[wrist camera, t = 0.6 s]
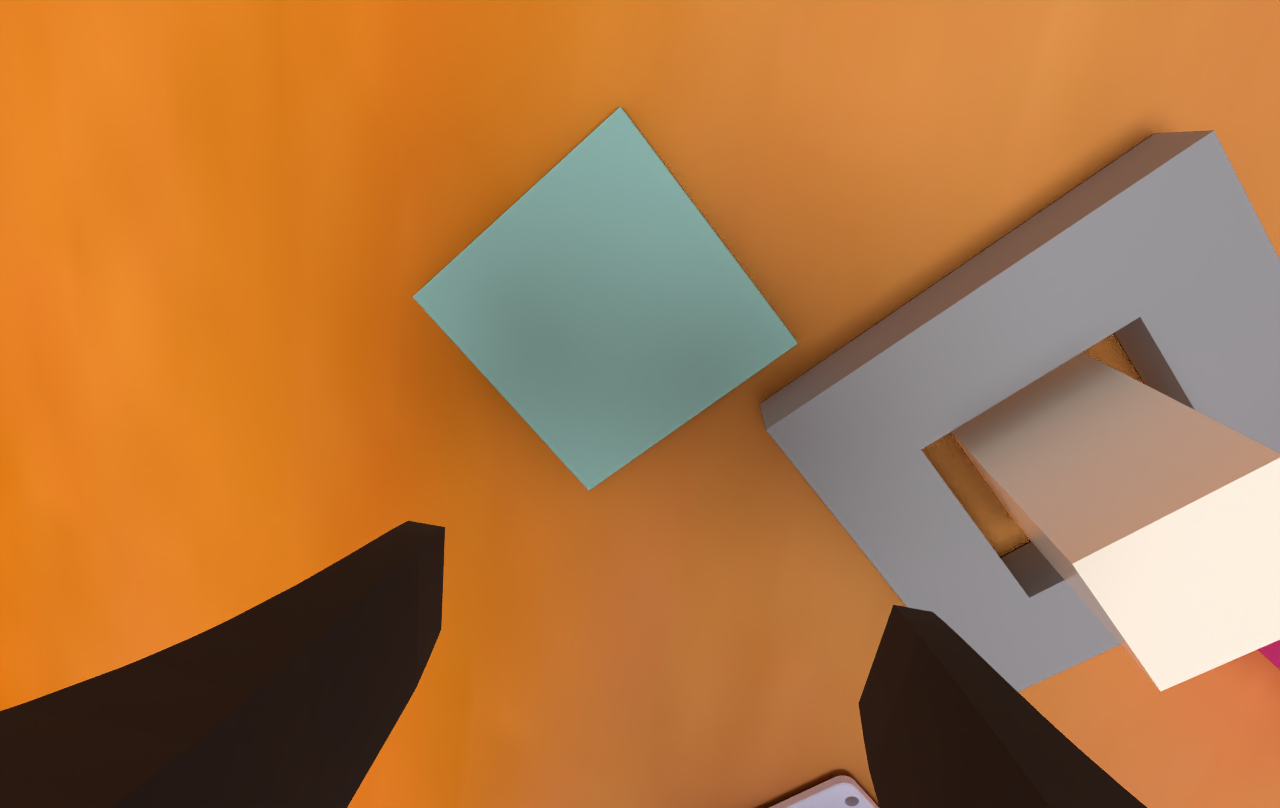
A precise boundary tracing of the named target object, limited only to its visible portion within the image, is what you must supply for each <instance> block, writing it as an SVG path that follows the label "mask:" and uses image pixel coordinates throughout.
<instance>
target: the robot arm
mask: <svg viewBox="0 0 1280 808" xmlns="http://www.w3.org/2000/svg"><path fill="white" fill-rule="evenodd" d="M444 540H445V527H441V526H435V525H429V524H423V523H417V522H412V521H407V522H405V523H403V524H401V525H399V526H398V527H396V528H394V529H392V530H390V531H389V532H387V533H385V534H384V535H382V536H380V537H378V538H377V539H375V540H373V541H372V542H370V543H368V544H367V545H365V546H363V547H362V548H360V549H358V550H357V551H355V552H353V553H351V554H350V555H348V556H346V557H345V558H343V559H341V560H339V561H338V562H336V563H334V564H332V565H331V566H329V567H327V568H325V569H324V570H322V571H320V572H318V573H317V574H315V575H313V576H311V577H310V578H308V579H306V580H304V581H303V582H301V583H299V584H297V585H296V586H294V587H292V588H290V589H288V590H286V591H284V592H282V593H280V594H278V595H276V596H274V597H272V598H270V599H269V600H267V601H265V602H263V603H261V604H259V605H257V606H255V607H253V608H251V609H249V610H247V611H245V612H244V613H242V614H240V615H238V616H236V617H234V618H232V619H230V620H228V621H226V622H224V623H222V624H220V625H218V626H216V627H213V628H211V629H209V630H207V631H205V632H203V633H201V634H198V635H196V636H194V637H192V638H190V639H188V640H185V641H183V642H181V643H178V644H176V645H174V646H171V647H169V648H167V649H164V650H162V651H160V652H157V653H155V654H153V655H150V656H148V657H146V658H143V659H141V660H139V661H136V662H134V663H131V664H129V665H126V666H124V667H121V668H119V669H116V670H113V671H110V672H108V673H105V674H102V675H100V676H97V677H94V678H91V679H89V680H86V681H83V682H81V683H78V684H75V685H73V686H70V687H67V688H64V689H62V690H59V691H56V692H54V693H51V694H48V695H46V696H43V697H40V698H37V699H35V700H32V701H29V702H26V703H24V704H21V705H18V706H15V707H12V708H9V709H6V710H3V711H0V808H347V807H348V805H349V803H350V801H351V800H352V798H353V796H354V795H355V793H356V791H357V789H358V788H359V786H360V784H361V783H362V781H363V779H364V777H365V776H366V774H367V772H368V771H369V769H370V767H371V765H372V764H373V762H374V760H375V759H376V757H377V755H378V753H379V752H380V750H381V748H382V747H383V745H384V743H385V741H386V740H387V738H388V736H389V734H390V733H391V731H392V729H393V728H394V726H395V724H396V722H397V721H398V719H399V717H400V715H401V714H402V712H403V710H404V708H405V707H406V705H407V703H408V701H409V700H410V698H411V696H412V694H413V692H414V691H415V689H416V687H417V685H418V682H419V680H420V678H421V676H422V673H423V671H424V669H425V667H426V664H427V662H428V660H429V657H430V655H431V652H432V650H433V648H434V645H435V643H436V640H437V638H438V636H439V633H440V631H441V620H442V593H443V567H444ZM859 709H860V716H861V723H862V729H863V736H864V743H865V748H866V754H867V760H868V765H869V770H870V774H871V778H872V781H873V785H874V789H875V792H876V796H877V799H878V803H879V806H880V808H1147V807H1146V806H1145V805H1143V804H1142V803H1141V802H1140V801H1139V800H1137V799H1136V798H1135V797H1134V796H1133V795H1131V794H1130V793H1129V792H1128V791H1127V790H1125V789H1124V788H1123V787H1122V786H1121V785H1120V784H1118V783H1117V782H1116V781H1115V780H1114V779H1113V778H1112V777H1110V776H1109V775H1108V774H1107V773H1106V772H1105V771H1104V770H1102V769H1101V768H1100V767H1099V766H1098V765H1097V764H1096V763H1094V762H1093V761H1092V760H1091V759H1090V758H1089V757H1088V756H1086V755H1085V754H1084V753H1083V752H1082V751H1081V750H1080V749H1078V748H1077V747H1076V746H1075V745H1074V744H1073V743H1072V742H1071V741H1070V740H1069V739H1067V738H1066V737H1065V736H1064V735H1063V734H1062V733H1061V732H1060V731H1059V730H1058V729H1056V728H1055V727H1054V726H1053V725H1052V724H1051V723H1050V722H1049V721H1048V720H1047V719H1046V718H1045V717H1044V716H1042V715H1041V714H1040V713H1039V712H1038V711H1037V710H1036V709H1035V708H1034V707H1033V706H1032V705H1031V704H1030V703H1029V702H1028V701H1027V700H1026V699H1024V698H1023V697H1022V696H1021V695H1020V694H1019V693H1018V692H1017V691H1016V690H1015V689H1014V688H1013V687H1012V686H1011V685H1010V684H1009V683H1008V682H1007V681H1006V680H1005V679H1004V678H1003V677H1002V676H1001V675H1000V674H998V673H997V672H996V671H995V670H994V669H993V668H992V667H991V666H990V665H989V664H988V663H987V662H986V661H985V660H984V659H983V658H982V657H981V656H980V655H979V654H978V653H977V652H976V651H975V650H974V649H973V648H972V647H971V646H970V645H969V644H968V643H966V642H965V641H964V640H963V639H962V638H961V637H960V636H959V635H958V634H957V633H956V632H955V631H954V630H953V629H952V628H951V627H949V626H948V625H947V624H946V623H945V622H944V621H943V620H942V619H941V618H939V617H938V616H937V615H936V614H935V613H933V612H931V611H926V610H920V609H914V608H908V607H903V606H897V605H893V608H892V611H891V613H890V616H889V619H888V622H887V625H886V628H885V630H884V633H883V636H882V639H881V642H880V645H879V647H878V650H877V653H876V656H875V659H874V662H873V664H872V667H871V670H870V673H869V676H868V679H867V681H866V684H865V687H864V690H863V693H862V696H861V698H860V701H859ZM769 808H879V807H878V806H877V805H876V804H875V802H874V801H873V800H872V799H871V798H870V797H869V796H868V795H867V794H866V793H865V791H864V790H863V789H862V788H861V787H860V786H859V785H858V784H857V783H856V782H855V780H853V779H852V778H851V777H848V776H845V775H840V776H836V777H834V778H832V779H830V780H827V781H825V782H823V783H821V784H819V785H817V786H814V787H812V788H810V789H808V790H806V791H804V792H802V793H799V794H797V795H795V796H793V797H791V798H789V799H786V800H784V801H782V802H780V803H778V804H776V805H773V806H771V807H769Z"/></svg>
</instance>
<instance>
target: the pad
mask: <svg viewBox="0 0 1280 808" xmlns="http://www.w3.org/2000/svg"><path fill="white" fill-rule="evenodd" d="M413 298H414V299H415V300H416V301H417V302H418V304H419V305H420V306H421V307H422V308H423V309H424V310H425V311H426V312H427V313H428V315H429V316H430V317H431V318H432V319H433V320H434V321H435V322H436V323H437V324H438V326H439V327H440V328H441V329H442V330H443V331H444V332H445V333H446V334H447V335H448V337H449V338H450V339H451V340H452V341H453V342H454V343H455V344H456V345H457V346H458V348H459V349H460V350H461V351H462V352H463V353H464V354H465V355H466V356H467V357H468V359H469V360H470V361H471V362H472V363H473V364H474V365H475V366H476V367H477V368H478V370H479V371H480V372H481V373H482V374H483V375H484V376H485V377H486V378H487V379H488V381H489V382H490V383H491V384H492V385H493V386H494V387H495V388H496V389H497V390H498V392H499V393H500V394H501V395H502V396H503V397H504V398H505V399H506V400H507V401H508V403H509V404H510V405H511V406H512V407H513V408H514V409H515V410H516V411H517V412H518V414H519V415H520V416H521V417H522V418H523V419H524V420H525V421H526V422H527V423H528V425H529V426H530V427H531V428H532V429H533V430H534V431H535V432H536V433H537V434H538V436H539V437H540V438H541V439H542V440H543V441H544V442H545V443H546V444H547V445H548V447H549V448H550V449H551V450H552V451H553V452H554V453H555V454H556V455H557V456H558V458H559V459H560V460H561V461H562V462H563V463H564V464H565V465H566V466H567V467H568V469H569V470H570V471H571V472H572V473H573V474H574V475H575V476H576V477H577V478H578V480H579V481H580V482H581V483H582V484H583V485H584V486H585V487H586V488H587V489H588V491H589V490H590V489H592V488H593V487H595V486H596V485H598V484H599V483H600V482H602V481H603V480H605V479H606V478H608V477H609V476H610V475H612V474H613V473H615V472H616V471H617V470H619V469H620V468H622V467H623V466H625V465H626V464H627V463H629V462H630V461H632V460H633V459H635V458H636V457H637V456H639V455H640V454H642V453H643V452H644V451H646V450H647V449H649V448H650V447H652V446H653V445H654V444H656V443H657V442H659V441H660V440H662V439H663V438H664V437H666V436H667V435H669V434H670V433H672V432H673V431H674V430H676V429H677V428H679V427H680V426H681V425H683V424H684V423H686V422H687V421H689V420H690V419H691V418H693V417H694V416H696V415H697V414H699V413H700V412H701V411H703V410H704V409H706V408H707V407H708V406H710V405H711V404H713V403H714V402H716V401H717V400H718V399H720V398H721V397H723V396H724V395H726V394H727V393H728V392H730V391H731V390H733V389H734V388H736V387H737V386H738V385H740V384H741V383H743V382H744V381H745V380H747V379H748V378H750V377H751V376H753V375H754V374H755V373H757V372H758V371H760V370H761V369H763V368H764V367H765V366H767V365H768V364H770V363H771V362H772V361H774V360H775V359H777V358H778V357H780V356H781V355H782V354H784V353H785V352H787V351H788V350H790V349H791V348H792V347H794V346H795V345H797V344H798V343H797V341H796V339H795V338H794V336H793V335H792V334H791V332H790V331H789V330H788V328H787V327H786V326H785V324H784V323H783V322H782V320H781V319H780V318H779V316H778V315H777V314H776V312H775V311H774V310H773V308H772V307H771V306H770V304H769V303H768V302H767V300H766V299H765V298H764V296H763V295H762V294H761V292H760V291H759V290H758V288H757V287H756V286H755V284H754V283H753V282H752V280H751V279H750V278H749V276H748V275H747V274H746V272H745V271H744V270H743V268H742V267H741V266H740V264H739V263H738V262H737V260H736V259H735V258H734V256H733V255H732V254H731V252H730V251H729V250H728V248H727V247H726V246H725V244H724V243H723V242H722V240H721V239H720V238H719V236H718V235H717V234H716V232H715V231H714V230H713V228H712V227H711V226H710V224H709V223H708V222H707V220H706V219H705V218H704V216H703V215H702V214H701V212H700V211H699V210H698V208H697V207H696V206H695V204H694V203H693V202H692V200H691V199H690V198H689V196H688V195H687V194H686V192H685V191H684V190H683V188H682V187H681V186H680V184H679V183H678V182H677V180H676V179H675V178H674V176H673V175H672V174H671V172H670V171H669V170H668V168H667V167H666V166H665V164H664V163H663V162H662V160H661V159H660V158H659V156H658V155H657V154H656V152H655V151H654V150H653V148H652V147H651V146H650V144H649V143H648V142H647V140H646V139H645V138H644V136H643V135H642V134H641V132H640V131H639V130H638V128H637V127H636V126H635V124H634V123H633V122H632V120H631V119H630V118H629V116H628V115H627V114H626V112H625V111H624V110H623V108H622V107H619V108H618V109H617V110H616V111H615V112H614V113H613V114H612V115H611V116H609V117H608V118H607V119H606V120H605V121H604V122H603V123H602V124H601V125H600V126H599V127H597V128H596V129H595V130H594V131H593V132H592V133H591V134H590V135H589V136H588V137H587V138H585V139H584V140H583V141H582V142H581V143H580V144H579V145H578V146H577V147H576V148H575V149H573V150H572V151H571V152H570V153H569V154H568V155H567V156H566V157H565V158H564V159H563V160H561V161H560V162H559V163H558V164H557V165H556V166H555V167H554V168H553V169H552V170H551V171H549V172H548V173H547V174H546V175H545V176H544V177H543V178H542V179H541V180H540V181H538V182H537V183H536V184H535V185H534V186H533V187H532V188H531V189H530V190H529V191H528V192H526V193H525V194H524V195H523V196H522V197H521V198H520V199H519V200H518V201H517V202H516V203H514V204H513V205H512V206H511V207H510V208H509V209H508V210H507V211H506V212H505V213H504V214H502V215H501V216H500V217H499V218H498V219H497V220H496V221H495V222H494V223H493V224H492V225H490V226H489V227H488V228H487V229H486V230H485V231H484V232H483V233H482V234H481V235H480V236H478V237H477V238H476V239H475V240H474V241H473V242H472V243H471V244H470V245H469V246H468V247H466V248H465V249H464V250H463V251H462V252H461V253H460V254H459V255H458V256H457V257H455V258H454V259H453V260H452V261H451V262H450V263H449V264H448V265H447V266H446V267H445V268H443V269H442V270H441V271H440V272H439V273H438V274H437V275H436V276H435V277H434V278H433V279H431V280H430V281H429V282H428V283H427V284H426V285H425V286H424V287H423V288H422V289H421V290H419V291H418V292H417V293H416V294H415V295H414V296H413Z"/></svg>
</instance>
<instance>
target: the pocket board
mask: <svg viewBox="0 0 1280 808" xmlns="http://www.w3.org/2000/svg"><path fill="white" fill-rule="evenodd" d="M1113 333H1114V334H1115V336H1116V337H1117V339H1118V341H1119V342H1120V344H1121V346H1122V347H1123V349H1124V351H1125V352H1126V354H1127V356H1128V357H1129V359H1130V361H1131V362H1132V364H1133V366H1134V367H1135V369H1136V371H1137V372H1138V374H1139V376H1140V377H1141V379H1142V381H1143V382H1144V384H1145V385H1147V386H1149V387H1151V388H1153V389H1155V390H1157V391H1159V392H1161V393H1163V394H1164V395H1166V396H1168V397H1170V398H1172V399H1174V400H1176V401H1178V402H1180V403H1182V404H1184V405H1186V406H1188V407H1190V408H1192V409H1194V410H1196V411H1198V412H1199V413H1201V414H1203V415H1205V416H1207V417H1209V418H1211V419H1213V420H1215V421H1217V422H1219V423H1221V424H1223V425H1225V426H1227V427H1229V428H1231V429H1233V430H1235V431H1236V432H1238V433H1240V434H1242V435H1244V436H1246V437H1248V438H1250V439H1252V440H1254V441H1256V442H1258V443H1260V444H1262V445H1264V446H1266V447H1268V448H1270V449H1271V450H1273V451H1275V452H1277V453H1279V454H1280V260H1279V258H1278V256H1277V254H1276V252H1275V250H1274V248H1273V246H1272V244H1271V242H1270V240H1269V238H1268V236H1267V234H1266V232H1265V230H1264V228H1263V226H1262V224H1261V222H1260V220H1259V218H1258V216H1257V214H1256V212H1255V210H1254V208H1253V207H1252V205H1251V203H1250V201H1249V199H1248V197H1247V195H1246V193H1245V191H1244V189H1243V187H1242V185H1241V183H1240V181H1239V179H1238V177H1237V175H1236V173H1235V171H1234V169H1233V167H1232V165H1231V163H1230V161H1229V159H1228V157H1227V155H1226V153H1225V151H1224V149H1223V147H1222V145H1221V143H1220V142H1219V140H1218V138H1217V136H1216V134H1215V132H1214V130H1213V131H1193V132H1173V133H1155V134H1153V135H1152V136H1150V137H1149V138H1147V139H1146V140H1144V141H1143V142H1141V143H1140V144H1138V145H1137V146H1136V147H1134V148H1133V149H1131V150H1130V151H1128V152H1127V153H1125V154H1124V155H1122V156H1121V157H1119V158H1118V159H1117V160H1115V161H1114V162H1112V163H1111V164H1109V165H1108V166H1106V167H1105V168H1103V169H1102V170H1101V171H1099V172H1098V173H1096V174H1095V175H1093V176H1092V177H1090V178H1089V179H1087V180H1086V181H1084V182H1083V183H1082V184H1080V185H1079V186H1077V187H1076V188H1074V189H1073V190H1071V191H1070V192H1068V193H1067V194H1065V195H1064V196H1063V197H1061V198H1060V199H1058V200H1057V201H1055V202H1054V203H1052V204H1051V205H1049V206H1048V207H1046V208H1045V209H1044V210H1042V211H1041V212H1039V213H1038V214H1036V215H1035V216H1033V217H1032V218H1030V219H1029V220H1028V221H1026V222H1025V223H1023V224H1022V225H1020V226H1019V227H1017V228H1016V229H1014V230H1013V231H1011V232H1010V233H1009V234H1007V235H1006V236H1004V237H1003V238H1001V239H1000V240H998V241H997V242H995V243H994V244H992V245H991V246H990V247H988V248H987V249H985V250H984V251H982V252H981V253H979V254H978V255H976V256H975V257H973V258H972V259H971V260H969V261H968V262H966V263H965V264H963V265H962V266H960V267H959V268H957V269H956V270H955V271H953V272H952V273H950V274H949V275H947V276H946V277H944V278H943V279H941V280H940V281H938V282H937V283H936V284H934V285H933V286H931V287H930V288H928V289H927V290H925V291H924V292H922V293H921V294H919V295H918V296H917V297H915V298H914V299H912V300H911V301H909V302H908V303H906V304H905V305H903V306H902V307H900V308H899V309H898V310H896V311H895V312H893V313H892V314H890V315H889V316H887V317H886V318H884V319H883V320H882V321H880V322H879V323H877V324H876V325H874V326H873V327H871V328H870V329H868V330H867V331H865V332H864V333H863V334H861V335H860V336H858V337H857V338H855V339H854V340H852V341H851V342H849V343H848V344H846V345H845V346H844V347H842V348H841V349H839V350H838V351H836V352H835V353H833V354H832V355H830V356H829V357H827V358H826V359H825V360H823V361H822V362H820V363H819V364H817V365H816V366H814V367H813V368H811V369H810V370H809V371H807V372H806V373H804V374H803V375H801V376H800V377H798V378H797V379H795V380H794V381H792V382H791V383H790V384H788V385H787V386H785V387H784V388H782V389H781V390H779V391H778V392H776V393H775V394H773V395H772V396H771V397H769V398H768V399H766V400H765V401H763V402H762V403H760V408H761V412H762V416H763V420H764V424H765V428H766V431H767V432H768V433H769V434H770V436H771V437H772V438H773V439H774V441H775V442H776V443H777V444H778V446H779V447H780V448H781V449H782V451H783V452H784V453H785V455H786V456H787V457H788V458H789V460H790V461H791V462H792V463H793V465H794V466H795V467H796V468H797V470H798V471H799V472H800V473H801V475H802V476H803V477H804V478H805V480H806V481H807V482H808V483H809V485H810V486H811V487H812V488H813V490H814V491H815V492H816V493H817V495H818V496H819V497H820V498H821V500H822V501H823V502H824V503H825V505H826V506H827V507H828V508H829V510H830V511H831V512H832V513H833V515H834V516H835V517H836V518H837V520H838V521H839V522H840V524H841V525H842V526H843V527H844V529H845V530H846V531H847V532H848V534H849V535H850V536H851V537H852V539H853V540H854V541H855V542H856V544H857V545H858V546H859V547H860V549H861V550H862V551H863V552H864V554H865V555H866V556H867V557H868V559H869V560H870V561H871V562H872V564H873V565H874V566H875V567H876V569H877V570H878V571H879V572H880V574H881V575H882V576H883V577H884V579H885V580H886V581H887V582H888V584H889V585H890V586H891V587H892V589H893V590H894V591H895V593H896V594H897V595H898V596H899V598H900V599H901V600H902V601H903V603H904V604H905V605H906V606H907V607H908V608H914V609H920V610H926V611H931V612H933V613H935V614H936V615H937V616H938V617H939V618H941V619H942V620H943V621H944V622H945V623H946V624H947V625H948V626H949V627H951V628H952V629H953V630H954V631H955V632H956V633H957V634H958V635H959V636H960V637H961V638H962V639H963V640H964V641H965V642H966V643H968V644H969V645H970V646H971V647H972V648H973V649H974V650H975V651H976V652H977V653H978V654H979V655H980V656H981V657H982V658H983V659H984V660H985V661H986V662H987V663H988V664H989V665H990V666H991V667H992V668H993V669H994V670H995V671H996V672H997V673H998V674H1000V675H1001V676H1002V677H1003V678H1004V679H1005V680H1006V681H1007V682H1008V683H1009V684H1010V685H1011V686H1012V687H1013V688H1014V689H1015V690H1016V691H1017V692H1019V691H1021V690H1023V689H1025V688H1027V687H1030V686H1032V685H1034V684H1036V683H1038V682H1040V681H1043V680H1045V679H1047V678H1049V677H1051V676H1053V675H1056V674H1058V673H1060V672H1062V671H1064V670H1066V669H1068V668H1071V667H1073V666H1075V665H1077V664H1079V663H1081V662H1084V661H1086V660H1088V659H1090V658H1092V657H1094V656H1097V655H1099V654H1101V653H1103V652H1105V651H1107V650H1109V649H1112V648H1114V647H1116V646H1118V645H1120V644H1119V643H1118V641H1117V640H1116V639H1115V638H1114V637H1113V636H1112V635H1111V633H1110V632H1109V631H1108V630H1107V629H1106V628H1105V626H1104V625H1103V624H1102V623H1101V622H1100V621H1099V619H1098V618H1097V617H1096V616H1095V615H1094V614H1093V612H1092V611H1091V610H1090V609H1089V608H1088V607H1087V605H1086V604H1085V603H1084V602H1083V601H1082V600H1081V599H1080V597H1079V596H1078V595H1077V594H1076V593H1075V592H1074V590H1073V589H1072V588H1071V587H1070V586H1069V585H1068V583H1067V582H1066V581H1065V580H1064V579H1063V578H1062V576H1061V575H1060V574H1059V573H1058V572H1057V571H1056V570H1055V568H1054V567H1053V566H1052V565H1051V564H1050V563H1049V561H1048V560H1047V559H1046V558H1045V557H1044V556H1043V554H1042V553H1041V552H1040V551H1039V550H1038V549H1037V547H1036V546H1035V545H1034V544H1033V543H1032V542H1030V543H1028V544H1026V545H1024V546H1022V547H1020V548H1018V549H1017V550H1015V551H1013V552H1011V553H1009V554H1007V555H1005V556H1003V557H1002V558H1000V557H999V556H998V554H997V553H996V551H995V550H994V549H993V547H992V546H991V545H990V543H989V542H988V541H987V539H986V538H985V536H984V535H983V534H982V532H981V531H980V530H979V528H978V527H977V525H976V524H975V523H974V521H973V520H972V519H971V517H970V516H969V514H968V513H967V512H966V510H965V509H964V508H963V506H962V505H961V503H960V502H959V501H958V499H957V498H956V497H955V495H954V494H953V493H952V491H951V490H950V488H949V487H948V486H947V484H946V483H945V482H944V480H943V479H942V477H941V476H940V475H939V473H938V472H937V471H936V469H935V468H934V466H933V465H932V464H931V462H930V461H929V460H928V458H927V457H926V455H925V454H924V453H923V451H922V449H923V448H925V447H927V446H928V445H930V444H931V443H933V442H935V441H936V440H938V439H940V438H941V437H943V436H945V435H946V434H948V433H950V432H951V431H953V430H955V429H956V428H958V427H959V426H961V425H963V424H964V423H966V422H968V421H969V420H971V419H973V418H974V417H976V416H978V415H979V414H981V413H983V412H984V411H986V410H987V409H989V408H991V407H992V406H994V405H996V404H997V403H999V402H1001V401H1002V400H1004V399H1006V398H1007V397H1009V396H1011V395H1012V394H1014V393H1015V392H1017V391H1019V390H1020V389H1022V388H1024V387H1025V386H1027V385H1029V384H1030V383H1032V382H1034V381H1035V380H1037V379H1039V378H1040V377H1042V376H1044V375H1045V374H1047V373H1048V372H1050V371H1052V370H1053V369H1055V368H1057V367H1058V366H1060V365H1062V364H1063V363H1065V362H1067V361H1068V360H1070V359H1072V358H1073V357H1075V356H1076V355H1078V354H1080V353H1081V352H1083V351H1085V350H1086V349H1088V348H1090V347H1091V346H1093V345H1095V344H1096V343H1098V342H1100V341H1101V340H1103V339H1104V338H1106V337H1108V336H1109V335H1111V334H1113Z"/></svg>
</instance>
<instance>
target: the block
mask: <svg viewBox="0 0 1280 808" xmlns="http://www.w3.org/2000/svg"><path fill="white" fill-rule="evenodd" d="M951 433H952V435H953V436H954V438H955V439H956V441H957V442H958V443H959V445H960V446H961V448H962V449H963V450H964V452H965V453H966V455H967V456H968V457H969V459H970V460H971V462H972V463H973V465H974V466H975V467H976V469H977V470H978V472H979V473H980V474H981V476H982V477H983V479H984V480H985V481H986V483H987V484H988V486H989V487H990V489H991V490H992V491H993V493H994V494H995V496H996V497H997V498H998V500H999V501H1000V503H1001V504H1002V505H1003V507H1004V508H1005V510H1006V511H1007V513H1008V514H1009V515H1010V517H1011V518H1012V520H1013V521H1014V522H1015V523H1016V524H1017V525H1018V527H1019V528H1020V529H1021V530H1022V531H1023V532H1024V534H1025V535H1026V536H1027V537H1028V538H1029V539H1030V541H1031V542H1032V543H1033V544H1034V545H1035V546H1036V547H1037V549H1038V550H1039V551H1040V552H1041V553H1042V554H1043V556H1044V557H1045V558H1046V559H1047V560H1048V561H1049V563H1050V564H1051V565H1052V566H1053V567H1054V568H1055V570H1056V571H1057V572H1058V573H1059V574H1060V575H1061V576H1062V578H1063V579H1064V580H1065V581H1066V582H1067V583H1068V585H1069V586H1070V587H1071V588H1072V589H1073V590H1074V592H1075V593H1076V594H1077V595H1078V596H1079V597H1080V599H1081V600H1082V601H1083V602H1084V603H1085V604H1086V605H1087V607H1088V608H1089V609H1090V610H1091V611H1092V612H1093V614H1094V615H1095V616H1096V617H1097V618H1098V619H1099V621H1100V622H1101V623H1102V624H1103V625H1104V626H1105V628H1106V629H1107V630H1108V631H1109V632H1110V633H1111V635H1112V636H1113V637H1114V638H1115V639H1116V640H1117V641H1118V643H1119V644H1120V645H1121V646H1122V647H1123V648H1124V650H1125V651H1126V652H1127V653H1128V654H1129V655H1130V657H1131V658H1132V659H1133V660H1134V661H1135V662H1136V664H1137V665H1138V666H1139V667H1140V668H1141V669H1142V670H1143V672H1144V673H1145V674H1146V675H1147V676H1148V677H1149V679H1150V680H1151V681H1152V682H1153V683H1154V684H1155V686H1156V687H1157V688H1158V689H1159V690H1160V691H1163V690H1165V689H1167V688H1169V687H1172V686H1174V685H1176V684H1179V683H1181V682H1183V681H1186V680H1188V679H1190V678H1192V677H1195V676H1197V675H1199V674H1202V673H1204V672H1206V671H1209V670H1211V669H1213V668H1216V667H1218V666H1220V665H1222V664H1225V663H1227V662H1229V661H1232V660H1234V659H1236V658H1239V657H1241V656H1243V655H1245V654H1248V653H1250V652H1252V651H1255V650H1257V649H1259V648H1262V647H1264V646H1266V645H1268V644H1271V643H1273V642H1275V641H1278V640H1280V454H1279V453H1277V452H1275V451H1273V450H1271V449H1270V448H1268V447H1266V446H1264V445H1262V444H1260V443H1258V442H1256V441H1254V440H1252V439H1250V438H1248V437H1246V436H1244V435H1242V434H1240V433H1238V432H1236V431H1235V430H1233V429H1231V428H1229V427H1227V426H1225V425H1223V424H1221V423H1219V422H1217V421H1215V420H1213V419H1211V418H1209V417H1207V416H1205V415H1203V414H1201V413H1199V412H1198V411H1196V410H1194V409H1192V408H1190V407H1188V406H1186V405H1184V404H1182V403H1180V402H1178V401H1176V400H1174V399H1172V398H1170V397H1168V396H1166V395H1164V394H1163V393H1161V392H1159V391H1157V390H1155V389H1153V388H1151V387H1149V386H1147V385H1145V384H1143V383H1141V382H1139V381H1137V380H1135V379H1133V378H1131V377H1129V376H1128V375H1126V374H1124V373H1122V372H1120V371H1118V370H1116V369H1114V368H1112V367H1110V366H1108V365H1106V364H1104V363H1102V362H1100V361H1098V360H1096V359H1094V358H1092V357H1091V356H1089V355H1087V354H1085V353H1083V352H1081V353H1080V354H1078V355H1076V356H1075V357H1073V358H1072V359H1070V360H1068V361H1067V362H1065V363H1063V364H1062V365H1060V366H1058V367H1057V368H1055V369H1053V370H1052V371H1050V372H1048V373H1047V374H1045V375H1044V376H1042V377H1040V378H1039V379H1037V380H1035V381H1034V382H1032V383H1030V384H1029V385H1027V386H1025V387H1024V388H1022V389H1020V390H1019V391H1017V392H1015V393H1014V394H1012V395H1011V396H1009V397H1007V398H1006V399H1004V400H1002V401H1001V402H999V403H997V404H996V405H994V406H992V407H991V408H989V409H987V410H986V411H984V412H983V413H981V414H979V415H978V416H976V417H974V418H973V419H971V420H969V421H968V422H966V423H964V424H963V425H961V426H959V427H958V428H956V429H955V430H953V431H951Z"/></svg>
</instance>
